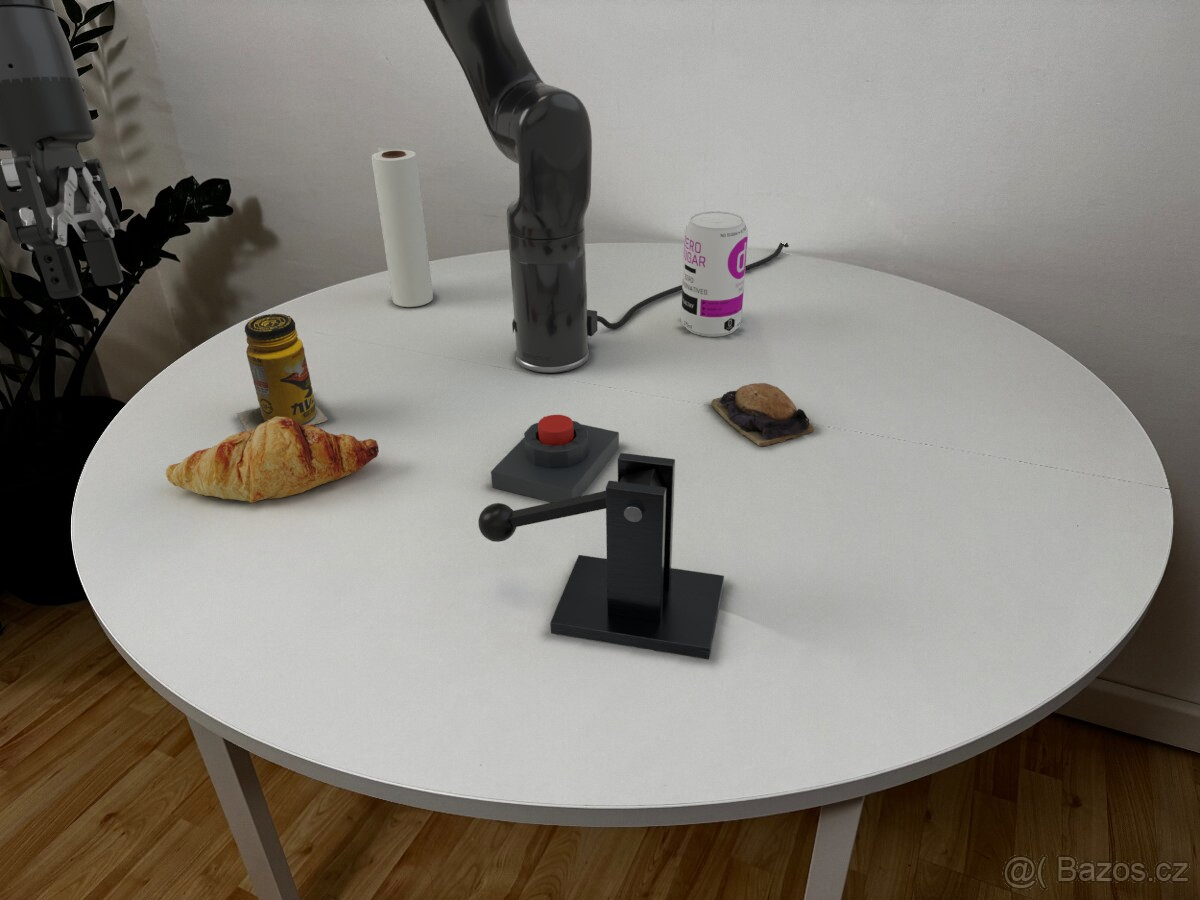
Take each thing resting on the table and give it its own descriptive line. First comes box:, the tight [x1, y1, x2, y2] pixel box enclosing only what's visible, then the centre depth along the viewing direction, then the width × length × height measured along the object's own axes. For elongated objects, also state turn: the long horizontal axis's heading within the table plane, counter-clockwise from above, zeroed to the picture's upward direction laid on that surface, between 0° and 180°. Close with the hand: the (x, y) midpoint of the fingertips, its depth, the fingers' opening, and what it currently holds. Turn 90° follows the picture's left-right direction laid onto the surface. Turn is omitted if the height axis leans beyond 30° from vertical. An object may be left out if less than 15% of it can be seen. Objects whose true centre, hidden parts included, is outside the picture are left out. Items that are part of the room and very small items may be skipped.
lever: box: [477, 469, 662, 543], centre depth 71 cm, size 16×3×3 cm, turn 76°
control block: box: [490, 416, 620, 503], centre depth 93 cm, size 12×9×4 cm
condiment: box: [236, 313, 329, 431], centre depth 100 cm, size 7×8×12 cm
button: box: [537, 414, 574, 446], centre depth 92 cm, size 4×4×2 cm
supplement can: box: [680, 210, 749, 338], centre depth 119 cm, size 8×8×15 cm
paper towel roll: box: [371, 147, 434, 308], centre depth 128 cm, size 7×6×21 cm
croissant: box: [165, 416, 380, 504], centre depth 91 cm, size 21×10×8 cm, turn 101°
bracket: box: [549, 452, 725, 660], centre depth 72 cm, size 13×9×14 cm
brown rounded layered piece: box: [710, 382, 815, 447], centre depth 101 cm, size 11×8×4 cm
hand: (90, 290), depth 74 cm, fingers open, 8 cm apart
